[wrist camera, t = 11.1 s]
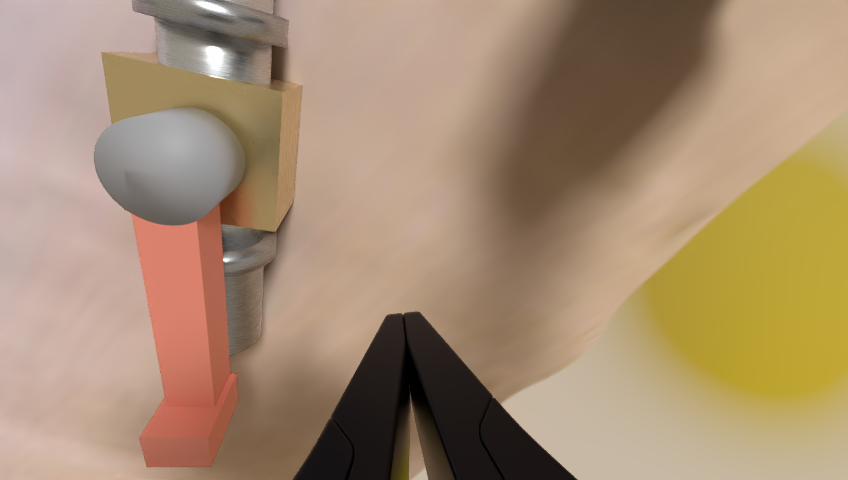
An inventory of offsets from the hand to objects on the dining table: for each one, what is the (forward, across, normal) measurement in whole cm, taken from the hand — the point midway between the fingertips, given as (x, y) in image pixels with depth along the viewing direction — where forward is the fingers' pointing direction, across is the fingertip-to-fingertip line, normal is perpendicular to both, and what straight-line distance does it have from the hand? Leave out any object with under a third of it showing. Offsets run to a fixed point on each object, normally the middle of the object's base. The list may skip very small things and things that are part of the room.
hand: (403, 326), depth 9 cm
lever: (+8, +9, +2) cm, 12 cm away
